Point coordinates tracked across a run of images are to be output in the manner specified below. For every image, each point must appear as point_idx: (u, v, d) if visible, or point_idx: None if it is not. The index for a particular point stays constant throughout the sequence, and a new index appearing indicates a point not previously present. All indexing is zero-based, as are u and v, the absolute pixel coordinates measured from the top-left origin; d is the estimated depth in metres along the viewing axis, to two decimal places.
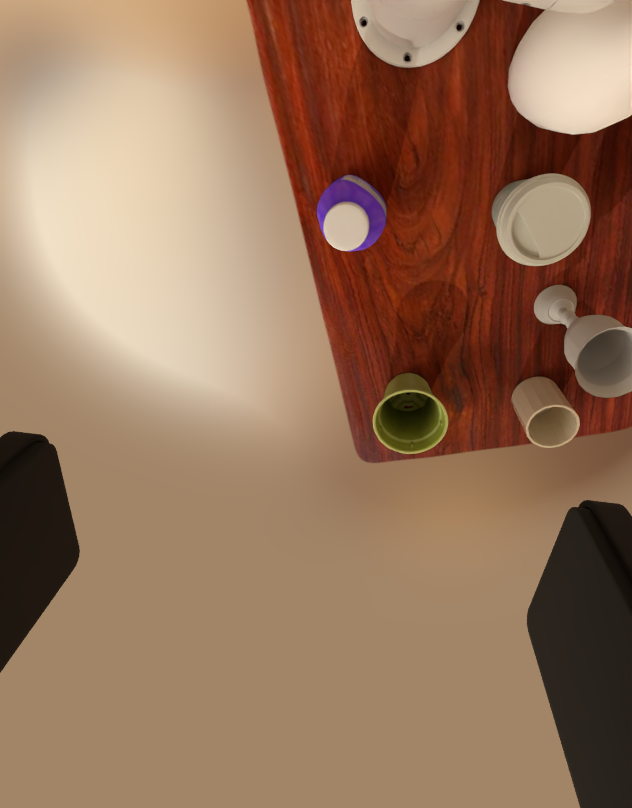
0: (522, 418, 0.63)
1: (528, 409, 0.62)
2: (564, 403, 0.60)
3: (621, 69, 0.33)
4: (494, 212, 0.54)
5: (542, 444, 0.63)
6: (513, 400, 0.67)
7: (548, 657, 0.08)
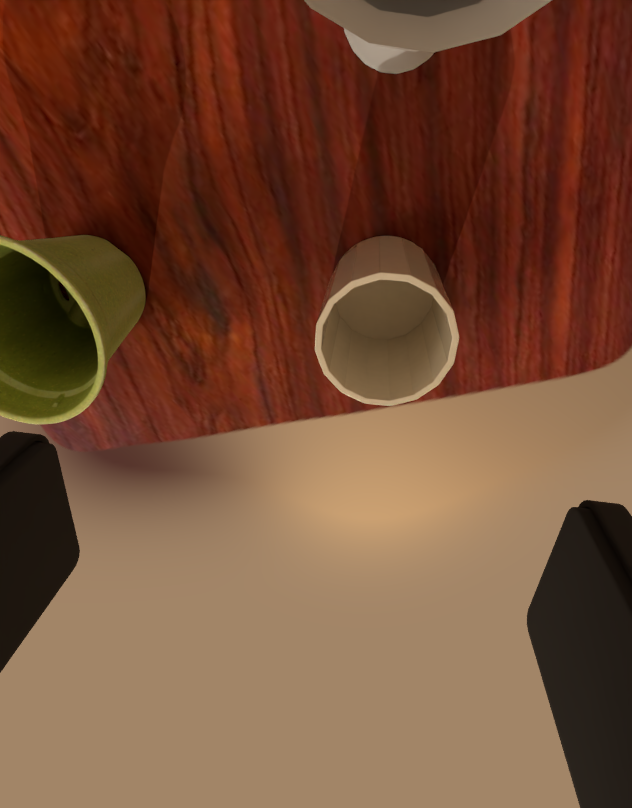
0: None
1: (326, 299, 0.23)
2: (412, 272, 0.21)
3: None
4: None
5: (369, 396, 0.23)
6: None
7: (547, 656, 0.08)
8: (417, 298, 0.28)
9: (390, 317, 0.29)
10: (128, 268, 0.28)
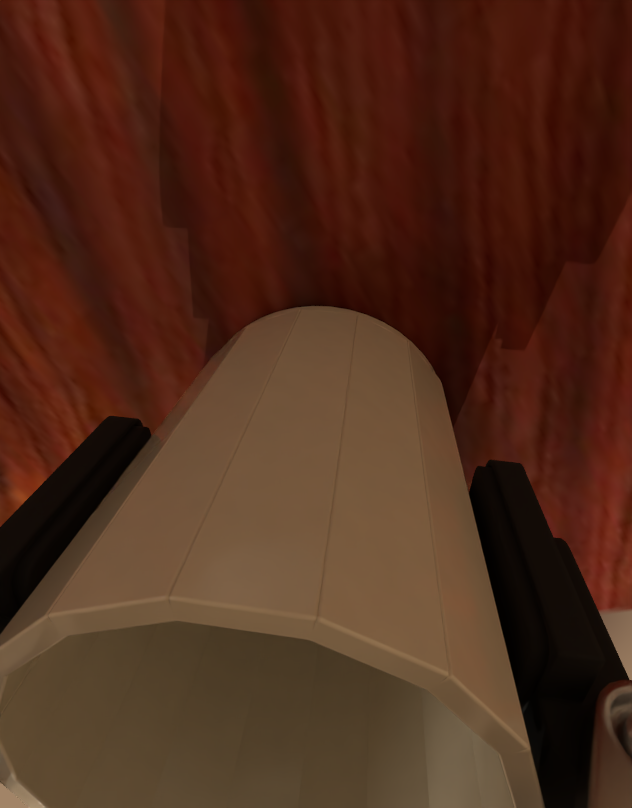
0: None
1: None
2: (342, 560, 0.05)
3: None
4: None
5: None
6: None
7: None
8: None
9: None
10: None
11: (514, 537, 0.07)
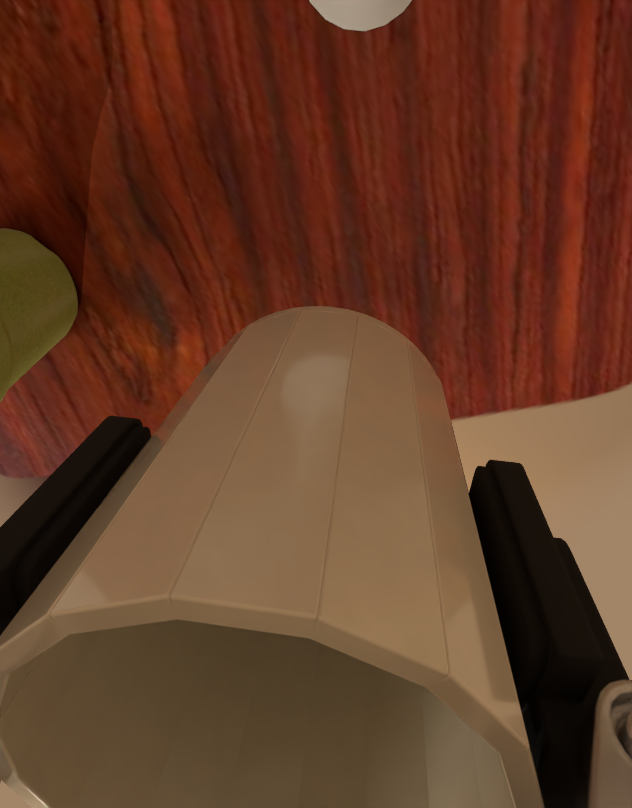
0: None
1: None
2: (342, 559, 0.05)
3: None
4: None
5: None
6: None
7: None
8: None
9: None
10: (52, 267, 0.24)
11: (514, 537, 0.07)
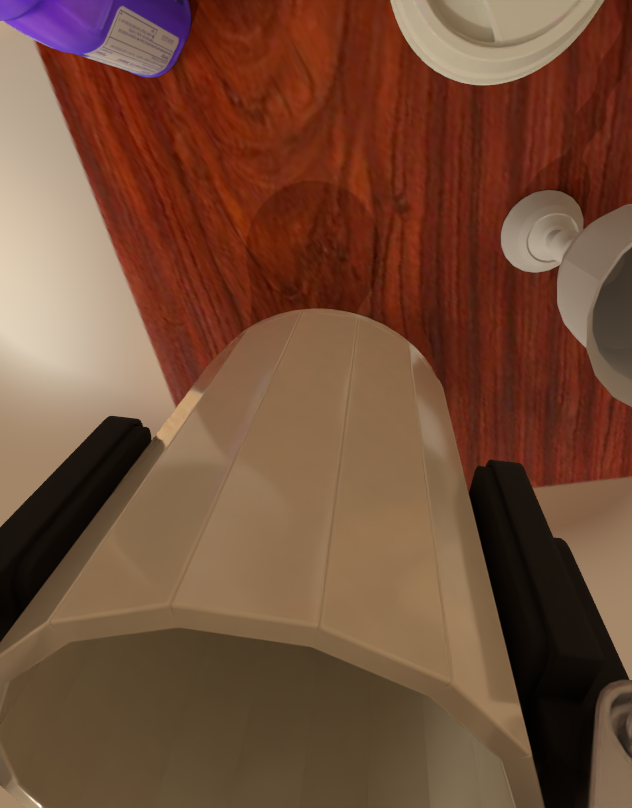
0: None
1: None
2: (344, 566, 0.05)
3: None
4: None
5: None
6: None
7: None
8: None
9: None
10: None
11: (514, 537, 0.07)
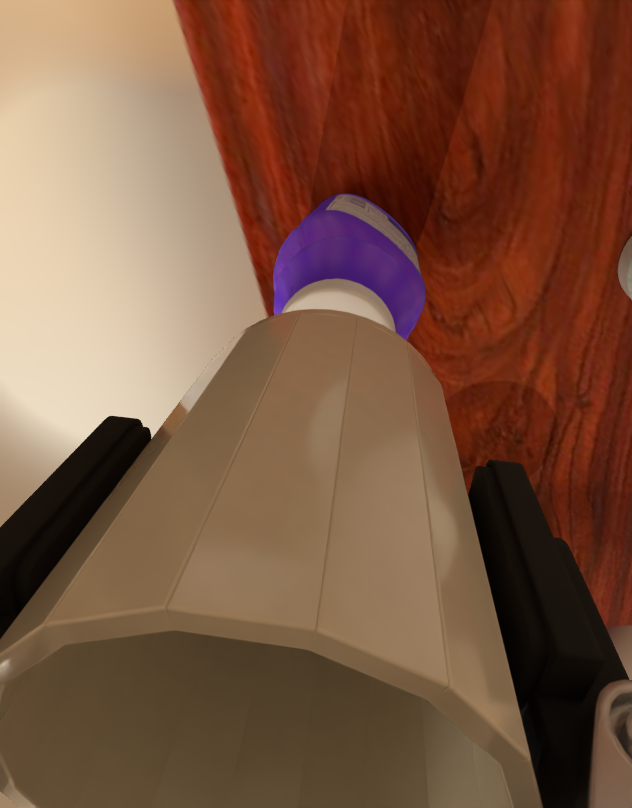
0: None
1: None
2: (341, 568, 0.05)
3: None
4: None
5: None
6: None
7: None
8: None
9: None
10: None
11: (514, 537, 0.07)
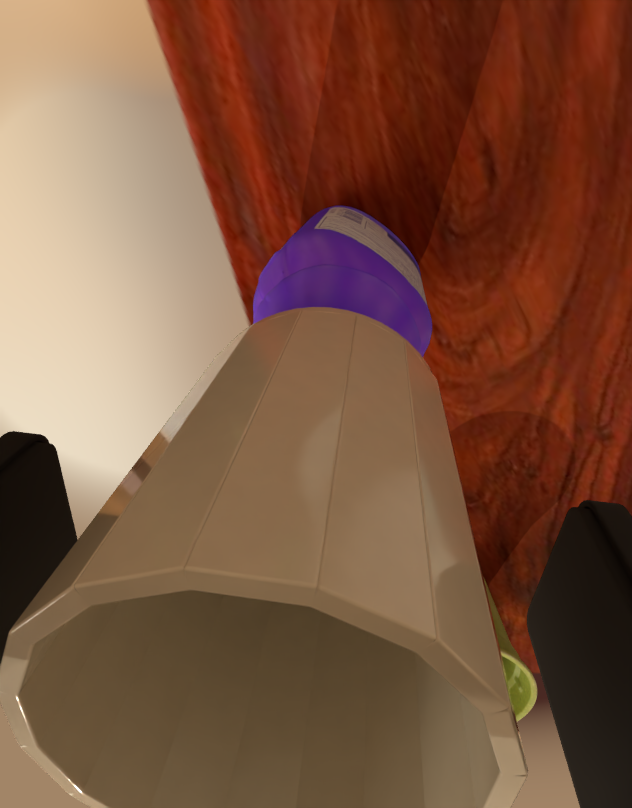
0: None
1: None
2: (340, 537, 0.05)
3: None
4: None
5: None
6: None
7: (547, 656, 0.08)
8: None
9: None
10: (488, 589, 0.37)
11: None
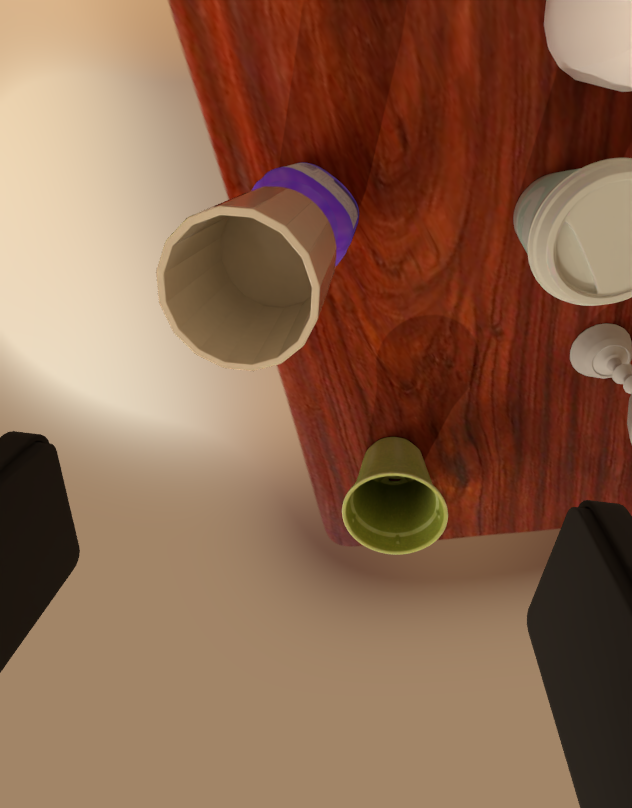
0: None
1: None
2: (262, 208, 0.18)
3: None
4: (519, 220, 0.36)
5: (229, 360, 0.20)
6: None
7: (547, 656, 0.08)
8: None
9: (285, 281, 0.26)
10: (422, 458, 0.49)
11: None
